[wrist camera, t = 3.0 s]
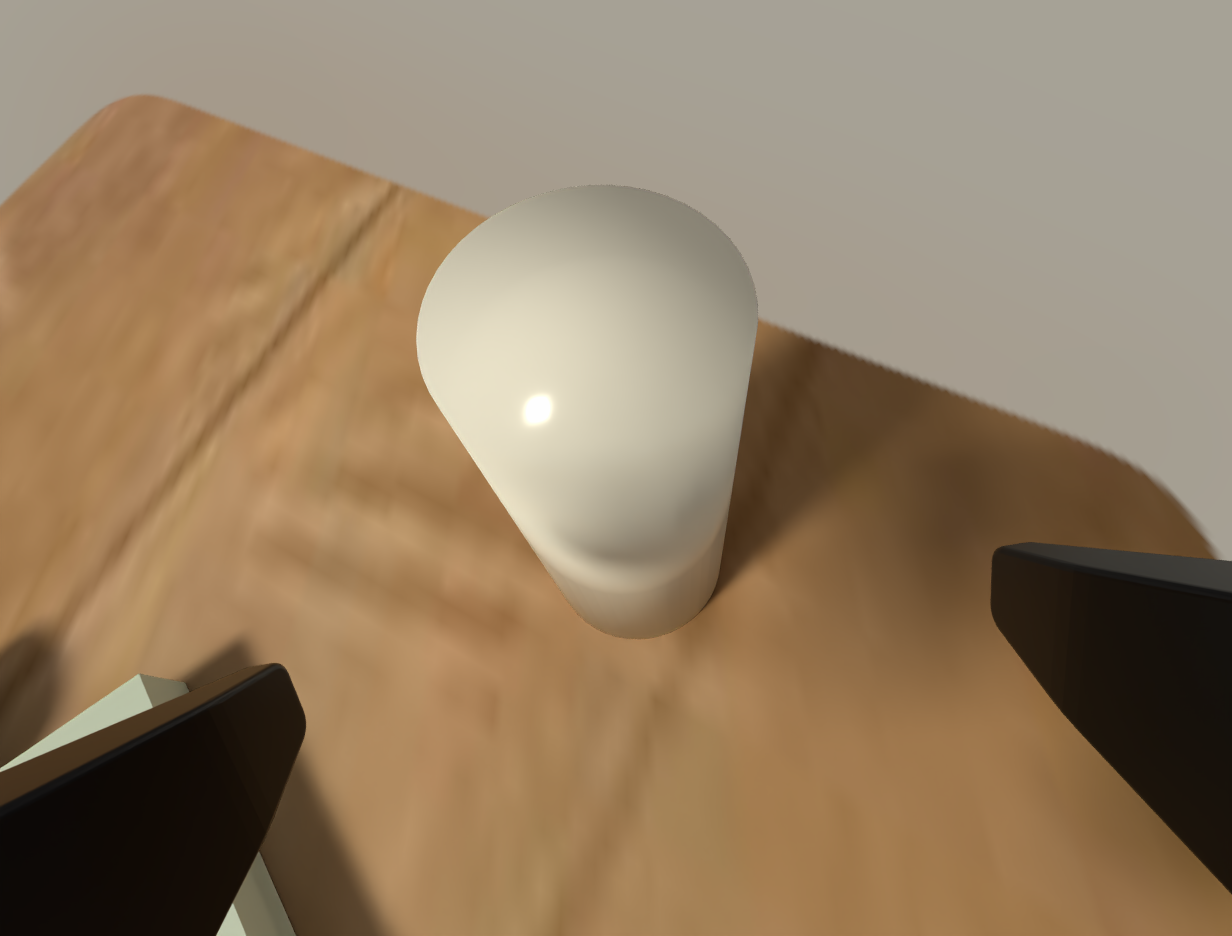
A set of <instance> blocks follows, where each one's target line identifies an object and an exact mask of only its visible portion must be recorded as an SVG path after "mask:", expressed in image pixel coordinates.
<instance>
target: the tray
mask: <svg viewBox="0 0 1232 936" xmlns="http://www.w3.org/2000/svg"><path fill="white" fill-rule="evenodd" d="M188 692H189V690H188V688H187V686H186V684H185V683H184V682H179V681H174V680H169V679H164V678H159V677H154V676H148V675H143V674H138V675H136V676H135V677H133V678H132V679H130V680H129V681H127V682H126V683H125V684H123V685H122V686H120V687H119V688H117V689H116V690H114V691H113V692H111V693H110V694H108V695H107V696H106V697H104V698H103V699H101V700H100V701H98V702H97V703H95V704H94V705H92V706H91V707H89V708H88V709H86V710H85V711H84V712H82V713H81V714H79V715H78V716H76V717H75V718H73V719H72V720H70V721H69V722H67V723H66V724H65V725H63V726H62V727H60V728H59V729H57V730H56V731H54V732H53V733H51V734H50V735H48V736H47V737H46V738H44V739H43V740H41V741H40V742H38V743H37V744H35V745H34V746H32V747H31V748H29V749H28V750H27V751H25V752H24V753H22V754H21V755H19V756H18V757H16V758H15V759H13V760H12V761H10V762H9V763H8V764H6V765H5V766H3V767H2V768H0V772H2V771H4V770H6V769H9V768H11V767H13V766H16V765H18V764H20V763H23V762H25V761H28V760H30V759H32V758H35V757H37V756H39V755H42V754H44V753H46V752H49V751H51V750H54V749H56V748H58V747H61V746H63V745H65V744H68V743H70V742H72V741H75V740H77V739H80V738H82V737H84V736H87V735H89V734H91V733H94V732H96V731H98V730H101V729H103V728H106V727H108V726H110V725H113V724H115V723H117V722H120V721H122V720H124V719H127V718H129V717H132V716H134V715H136V714H139V713H141V712H143V711H146V710H148V709H151V708H153V707H155V706H158V705H160V704H162V703H165V702H167V701H169V700H172V699H174V698H177V697H179V696H181V695H184V694H186V693H188ZM216 936H296V935H295V932H294V930H293V928H292V925H291V923H290V921H289V919H288V916H287V914H286V912H285V909H284V907H283V905H282V903H281V900H280V898H279V896H278V893H277V891H276V889H275V887H274V884H273V882H272V880H271V878H270V875H269V873H268V871H267V868H266V866H265V864H264V862H263V859H262V857H261V855H260V852H258V854H257V856H256V858H255V860H254V862H253V864H252V866H251V868H250V870H249V872H248V874H247V876H246V878H245V880H244V882H243V884H242V886H241V888H240V890H239V892H238V894H237V896H236V898H235V900H234V902H233V904H232V906H231V907H230V909H229V911H228V913H227V915H226V917H225V919H224V921H223V923H222V925H221V927H220V929H219V931H218V933H217V935H216Z"/></svg>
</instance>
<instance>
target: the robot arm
mask: <svg viewBox="0 0 1232 936" xmlns="http://www.w3.org/2000/svg"><path fill="white" fill-rule="evenodd" d="M991 612H992V616H993V619H994V621H995V623H996V625H997V627H998V628H999V630H1000V631H1001V633H1002V634H1003V635H1004V637H1005V638H1006V639H1007V641H1008V642H1009V643H1010V645H1011V646H1012V647H1013V649H1014V650H1015V651H1016V653H1017V654H1018V655H1019V657H1020V658H1021V659H1022V661H1023V662H1024V663H1025V665H1026V666H1027V667H1028V669H1029V670H1030V671H1031V673H1032V674H1033V675H1034V677H1035V678H1036V679H1037V681H1038V682H1039V683H1040V685H1041V686H1042V687H1043V689H1044V690H1045V691H1046V693H1047V694H1048V695H1049V697H1050V698H1051V699H1052V701H1053V702H1054V703H1055V704H1056V706H1057V707H1058V708H1059V709H1060V711H1061V712H1062V713H1063V714H1064V715H1065V716H1066V718H1067V719H1068V720H1069V721H1070V722H1071V723H1072V724H1073V725H1074V727H1075V728H1076V729H1077V730H1078V731H1079V732H1080V733H1081V734H1082V735H1083V736H1084V737H1085V738H1086V739H1087V741H1088V742H1089V743H1090V744H1091V745H1092V746H1093V747H1094V748H1095V749H1096V750H1097V751H1098V752H1099V753H1100V754H1101V755H1102V757H1103V758H1104V759H1105V760H1106V761H1107V762H1108V763H1109V764H1110V765H1111V766H1112V767H1113V768H1114V769H1115V770H1116V771H1117V772H1118V774H1119V775H1120V776H1121V777H1122V778H1123V779H1124V780H1125V781H1126V782H1127V783H1128V784H1129V785H1130V786H1131V787H1132V788H1133V790H1134V791H1135V792H1136V793H1137V794H1138V795H1139V796H1140V797H1141V798H1142V799H1143V800H1144V801H1145V802H1146V803H1147V804H1148V806H1149V807H1150V808H1151V809H1152V810H1153V811H1154V812H1155V813H1156V814H1157V815H1158V816H1159V817H1160V818H1161V819H1162V820H1163V822H1164V823H1165V824H1166V825H1167V826H1168V827H1169V828H1170V829H1171V830H1172V831H1173V832H1174V833H1175V834H1176V835H1177V836H1178V838H1179V839H1180V840H1181V841H1182V842H1183V843H1184V844H1185V845H1186V846H1187V847H1188V848H1189V849H1190V850H1191V851H1192V852H1193V854H1194V855H1195V856H1196V857H1197V858H1198V859H1199V860H1200V861H1201V862H1202V863H1203V864H1204V865H1205V866H1206V867H1207V868H1208V870H1209V871H1210V872H1211V873H1212V874H1213V875H1214V876H1215V877H1216V878H1217V879H1218V880H1219V881H1220V882H1221V883H1222V884H1223V885H1224V887H1225V888H1226V889H1227V890H1228V891H1229V892H1230V893H1231V894H1232V561H1224V560H1213V559H1203V558H1192V557H1182V556H1171V555H1161V554H1150V553H1139V552H1129V551H1118V550H1108V549H1097V548H1087V547H1076V546H1065V545H1055V544H1044V543H1034V542H1028V543H1019V544H1013V545H1006V546H1002V547H999V548H997V549H996V551H995V552H994V554H993V557H992V573H991ZM305 731H306V719H305V714H304V711H303V708H302V706H301V703H300V701H299V698H298V696H297V693H296V691H295V688H294V686H293V683H292V681H291V678H290V676H289V673H288V672H287V670H286V668H285V667H284V666H282V665H281V664H279V663H270V664H264V665H258V666H252V667H248V668H245V669H243V670H240V671H238V672H236V673H233V674H231V675H229V676H226V677H224V678H221V679H219V680H217V681H214V682H212V683H210V684H207V685H205V686H203V687H200V688H198V689H195V690H193V691H191V692H188V693H186V694H184V695H181V696H179V697H177V698H174V699H172V700H169V701H167V702H165V703H162V704H160V705H158V706H155V707H153V708H151V709H148V710H146V711H143V712H141V713H139V714H136V715H134V716H132V717H129V718H127V719H124V720H122V721H120V722H117V723H115V724H113V725H110V726H108V727H106V728H103V729H101V730H98V731H96V732H94V733H91V734H89V735H87V736H84V737H82V738H80V739H77V740H75V741H72V742H70V743H68V744H65V745H63V746H61V747H58V748H56V749H54V750H51V751H49V752H46V753H44V754H42V755H39V756H37V757H35V758H32V759H30V760H28V761H25V762H23V763H20V764H18V765H16V766H13V767H11V768H9V769H6V770H4V771H2V772H0V936H216V935H217V933H218V931H219V929H220V927H221V925H222V923H223V921H224V919H225V917H226V915H227V913H228V911H229V909H230V907H231V906H232V904H233V902H234V900H235V898H236V896H237V894H238V892H239V890H240V888H241V886H242V884H243V882H244V880H245V878H246V876H247V874H248V872H249V870H250V868H251V866H252V864H253V862H254V860H255V858H256V856H257V854H258V852H259V850H260V848H261V846H262V844H263V841H264V839H265V837H266V835H267V833H268V830H269V828H270V825H271V823H272V821H273V818H274V816H275V813H276V810H277V808H278V805H279V802H280V800H281V797H282V795H283V792H284V789H285V787H286V784H287V781H288V779H289V776H290V774H291V771H292V768H293V766H294V763H295V760H296V758H297V755H298V753H299V750H300V747H301V745H302V742H303V739H304V736H305Z"/></svg>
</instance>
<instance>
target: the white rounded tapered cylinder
mask: <svg viewBox="0 0 1232 936" xmlns="http://www.w3.org/2000/svg"><path fill="white" fill-rule="evenodd" d="M757 326H758V303H757V297H756V291H755V286H754V283H753V280H752V277H751V274H750V272H749V269H748V267H747V265H746V263H745V261H744V259H743V257H742V255H741V253H740V252H739V250H738V249H737V248H736V246H735V245H734V244H733V242H732V241H731V240H730V238H729V237H728V236H727V235H726V234H725V233H724V232H723V231H722V230H721V229H720V228H719V227H718V226H717V225H716V224H715V223H713V222H712V221H711V220H709V219H708V218H707V217H706V216H704V215H703V214H701V213H700V212H698V211H696V210H695V209H693V208H691V207H690V206H688V205H686V204H684V203H682V202H680V201H677V200H675V199H673V198H670V197H668V196H665V195H662V194H659V193H656V192H652V191H649V190H644V189H638V188H633V187H627V186H615V185H588V186H578V187H570V188H564V189H560V190H555V191H550V192H546V193H543V194H540V195H537V196H534V197H531V198H528V199H526V200H523V201H521V202H519V203H516V204H514V205H512V206H510V207H508V208H506V209H504V210H502V211H501V212H499V213H497V214H495V215H493V216H492V217H490V218H489V219H487V220H486V221H485V222H483V223H482V224H480V225H479V226H477V227H476V228H475V229H474V230H473V231H471V232H470V233H469V234H468V235H467V236H466V237H464V238H463V239H462V240H461V241H460V242H459V243H458V245H457V246H456V247H455V248H454V249H453V250H452V251H451V252H450V253H449V254H448V256H447V257H446V258H445V260H444V261H443V263H442V264H441V265H440V267H439V268H438V270H437V271H436V273H435V275H434V277H433V279H432V280H431V282H430V284H429V286H428V289H427V291H426V294H425V296H424V299H423V301H422V305H421V309H420V313H419V318H418V324H417V337H416V341H417V354H418V360H419V365H420V369H421V373H422V376H423V379H424V381H425V383H426V386H427V388H428V390H429V393H430V394H431V396H432V398H433V399H434V401H435V402H436V404H437V406H438V407H439V409H440V410H441V412H442V413H443V415H444V416H445V418H446V419H447V421H448V422H449V424H450V425H451V427H452V428H453V430H454V431H455V433H456V434H457V436H458V437H459V439H460V440H461V442H462V443H463V445H464V446H465V448H466V449H467V451H468V452H469V454H470V455H471V457H472V458H473V460H474V461H475V463H476V464H477V466H478V467H479V469H480V470H481V472H482V473H483V475H484V476H485V478H486V479H487V481H488V483H489V484H490V486H491V487H492V489H493V490H494V492H495V493H496V495H497V496H498V498H499V499H500V501H501V502H502V504H503V505H504V507H505V508H506V510H507V511H508V513H509V514H510V516H511V517H512V519H513V520H514V522H515V523H516V525H517V526H518V528H519V529H520V531H521V532H522V534H523V535H524V537H525V538H526V540H527V541H528V543H529V544H530V546H531V547H532V549H533V550H534V552H535V553H536V555H537V556H538V558H539V559H540V561H541V562H542V564H543V565H544V567H545V568H546V570H547V571H548V573H549V574H550V576H551V577H552V579H553V580H554V582H555V583H556V585H557V586H558V588H559V589H560V591H561V592H562V594H563V595H564V597H565V598H566V600H567V601H568V603H569V604H570V606H571V607H572V608H573V610H574V611H575V612H576V613H577V614H578V615H579V616H580V617H581V618H582V619H583V620H584V621H585V622H587V623H588V624H590V625H591V626H593V627H594V628H596V629H598V630H600V631H602V632H604V633H606V634H609V635H612V636H615V637H620V638H625V639H649V638H654V637H659V636H662V635H665V634H668V633H671V632H673V631H674V630H676V629H678V628H680V627H682V626H683V625H685V624H686V623H688V622H689V621H690V620H692V619H693V618H694V617H695V616H696V615H697V614H698V613H699V612H700V611H701V610H702V608H703V607H704V606H705V605H706V603H707V602H708V600H709V598H710V597H711V595H712V593H713V591H714V588H715V586H716V583H717V580H718V576H719V571H720V564H721V558H722V551H723V545H724V538H725V532H726V526H727V519H728V513H729V506H730V500H731V493H732V487H733V481H734V474H735V468H736V461H737V455H738V448H739V442H740V436H741V429H742V423H743V416H744V410H745V403H746V397H747V391H748V384H749V378H750V371H751V365H752V358H753V352H754V346H755V339H756V333H757Z"/></svg>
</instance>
